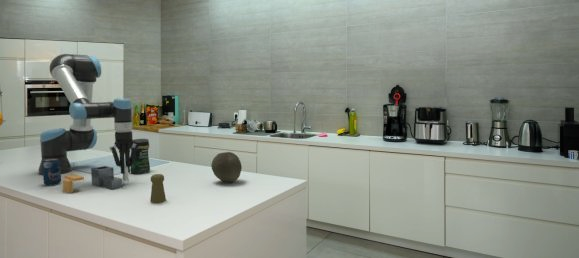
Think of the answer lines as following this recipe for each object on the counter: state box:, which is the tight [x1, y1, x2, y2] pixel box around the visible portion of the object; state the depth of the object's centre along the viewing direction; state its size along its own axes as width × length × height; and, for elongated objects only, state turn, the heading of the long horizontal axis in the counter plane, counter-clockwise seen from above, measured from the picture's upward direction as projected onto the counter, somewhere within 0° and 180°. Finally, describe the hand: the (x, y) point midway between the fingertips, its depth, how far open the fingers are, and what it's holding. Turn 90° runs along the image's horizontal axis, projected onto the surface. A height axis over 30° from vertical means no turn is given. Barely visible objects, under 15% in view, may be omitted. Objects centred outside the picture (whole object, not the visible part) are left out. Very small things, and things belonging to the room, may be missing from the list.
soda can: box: [42, 158, 62, 187], centre depth 172 cm, size 7×7×12 cm
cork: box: [150, 173, 167, 204], centre depth 147 cm, size 6×6×11 cm
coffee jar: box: [130, 138, 151, 175], centre depth 197 cm, size 10×8×19 cm
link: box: [90, 165, 124, 191], centre depth 170 cm, size 16×7×8 cm, turn 55°
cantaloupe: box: [210, 151, 243, 183], centre depth 177 cm, size 14×14×15 cm
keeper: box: [61, 173, 85, 194], centre depth 162 cm, size 9×6×6 cm, turn 55°
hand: (125, 179), depth 174 cm, fingers closed
